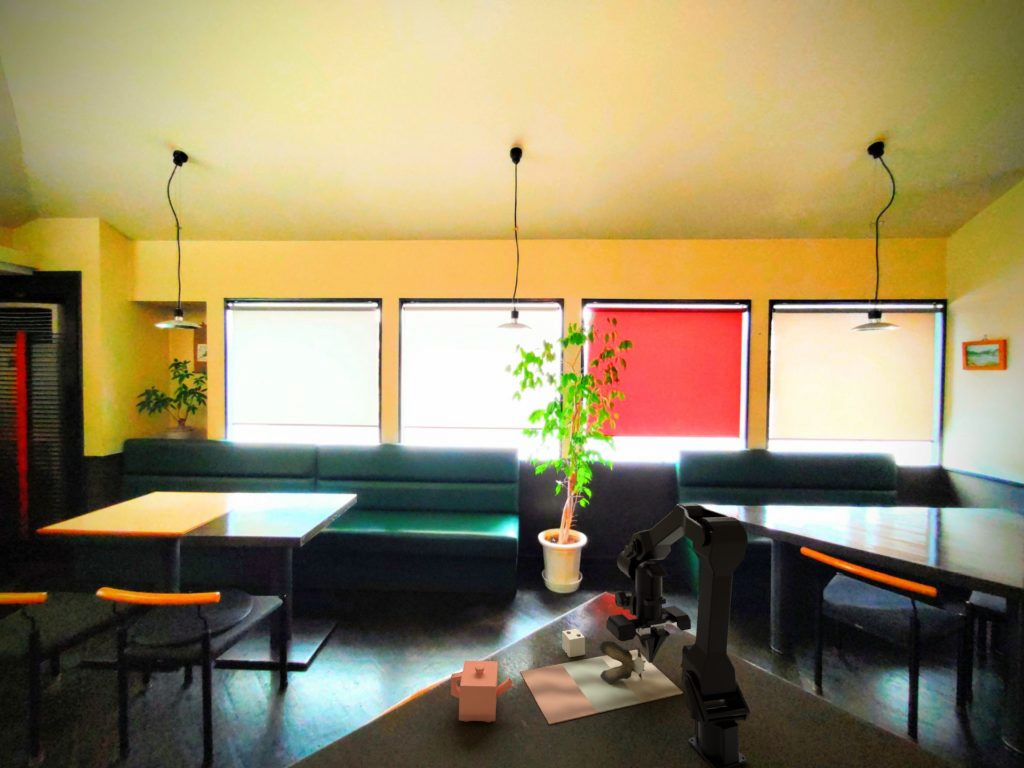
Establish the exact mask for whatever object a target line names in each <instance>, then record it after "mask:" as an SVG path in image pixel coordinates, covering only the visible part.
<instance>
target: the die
mask: <svg viewBox="0 0 1024 768" xmlns="http://www.w3.org/2000/svg"><path fill="white" fill-rule="evenodd" d="M561 640H562V641H561V642H562V643H561V649H562V650H563V651H564V652H565V654H566V653H567V654H566V655H567V656H568V658H575V657H579V656H584V655H586V637H585V636H584V634H582V632H581V631H580V630H579V629H578V628H574V629H568V630H562V639H561Z"/></svg>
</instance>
